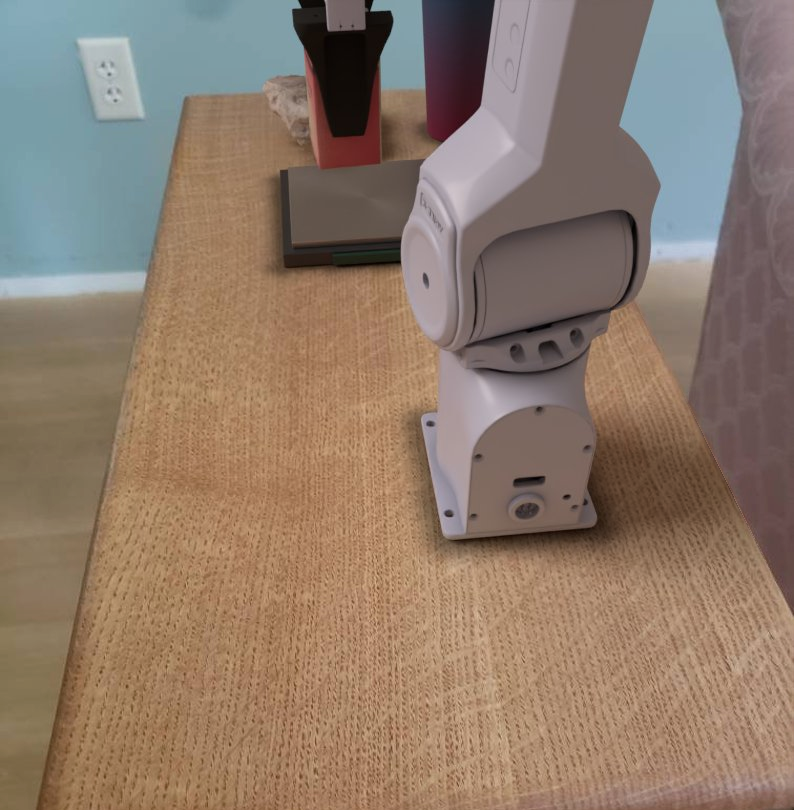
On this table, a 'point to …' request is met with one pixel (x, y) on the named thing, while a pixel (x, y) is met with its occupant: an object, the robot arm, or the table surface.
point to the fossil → (291, 105)
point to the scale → (346, 212)
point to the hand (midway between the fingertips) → (344, 114)
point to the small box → (343, 148)
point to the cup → (454, 61)
